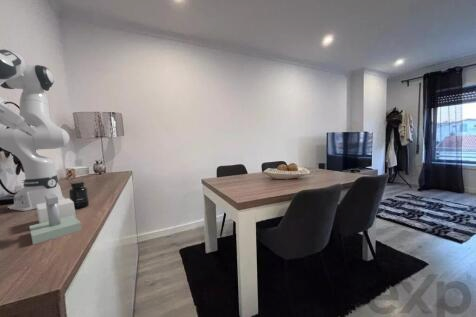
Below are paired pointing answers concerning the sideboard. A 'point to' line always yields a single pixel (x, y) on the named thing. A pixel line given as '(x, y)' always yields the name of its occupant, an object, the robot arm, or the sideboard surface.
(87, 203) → the supplement bottle
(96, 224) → the sideboard surface
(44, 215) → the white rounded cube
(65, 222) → the t-shaped pedestal stand
